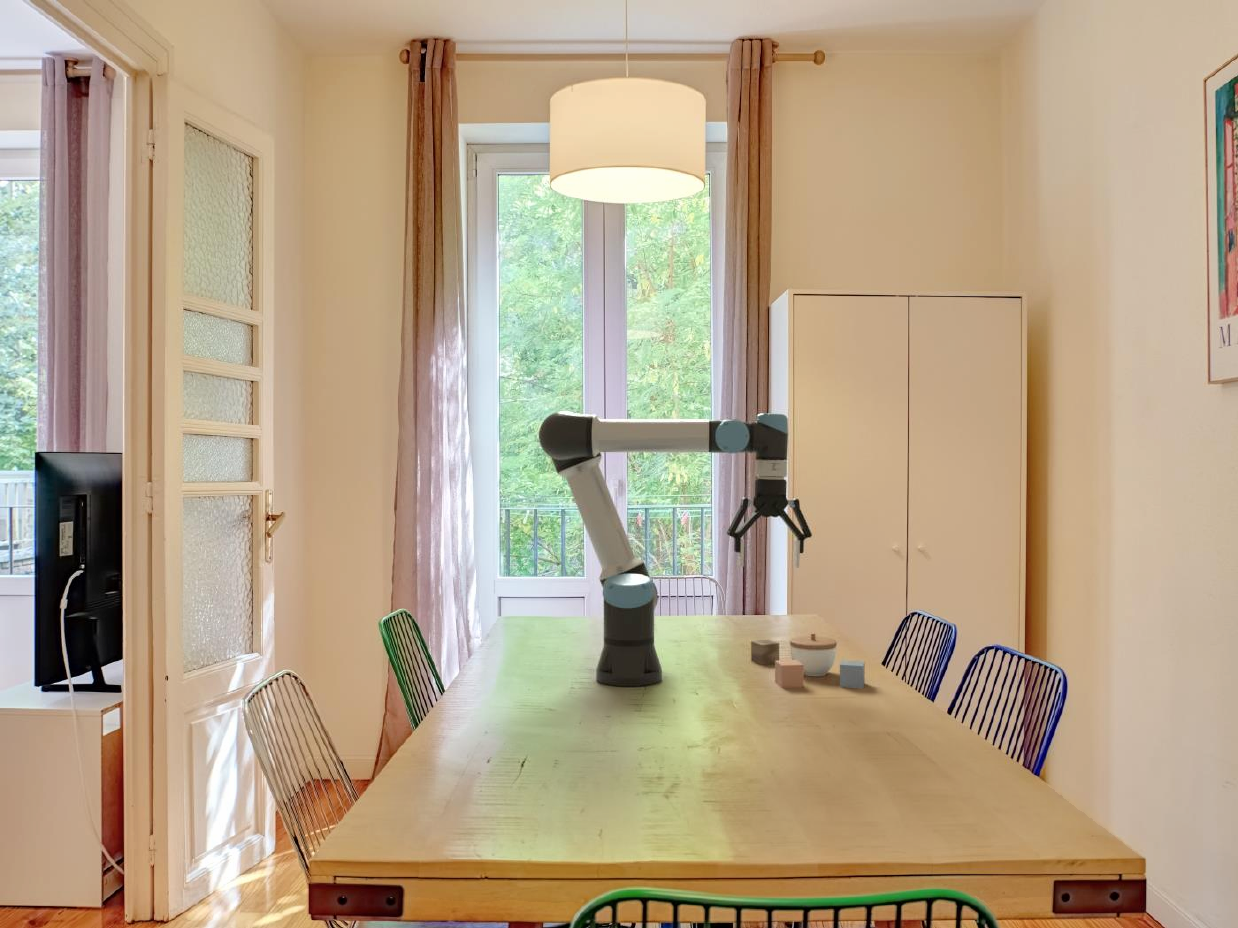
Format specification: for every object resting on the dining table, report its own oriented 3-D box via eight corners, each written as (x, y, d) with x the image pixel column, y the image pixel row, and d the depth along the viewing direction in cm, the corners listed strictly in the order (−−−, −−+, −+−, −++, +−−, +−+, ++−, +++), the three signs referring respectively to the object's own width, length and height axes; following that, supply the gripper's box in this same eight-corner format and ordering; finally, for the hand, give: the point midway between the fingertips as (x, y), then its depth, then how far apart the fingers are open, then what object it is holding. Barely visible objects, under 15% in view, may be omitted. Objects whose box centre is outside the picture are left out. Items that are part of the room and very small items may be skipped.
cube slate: (839, 687, 218) (839, 664, 218) (841, 681, 223) (841, 659, 223) (863, 688, 216) (863, 666, 216) (864, 683, 221) (864, 661, 221)
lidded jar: (824, 680, 223) (824, 639, 223) (781, 674, 230) (781, 634, 230) (844, 672, 232) (844, 632, 232) (802, 666, 238) (802, 627, 238)
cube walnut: (761, 665, 240) (761, 644, 240) (751, 661, 245) (751, 641, 245) (779, 663, 242) (779, 643, 242) (768, 659, 247) (768, 639, 246)
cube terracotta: (781, 687, 217) (781, 665, 217) (775, 682, 222) (775, 660, 222) (803, 687, 218) (803, 664, 218) (796, 681, 223) (796, 659, 223)
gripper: (723, 477, 231) (720, 567, 231) (826, 479, 233) (823, 569, 234) (716, 476, 238) (714, 563, 239) (816, 478, 241) (814, 565, 241)
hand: (768, 566), depth 236 cm, fingers open, 13 cm apart
